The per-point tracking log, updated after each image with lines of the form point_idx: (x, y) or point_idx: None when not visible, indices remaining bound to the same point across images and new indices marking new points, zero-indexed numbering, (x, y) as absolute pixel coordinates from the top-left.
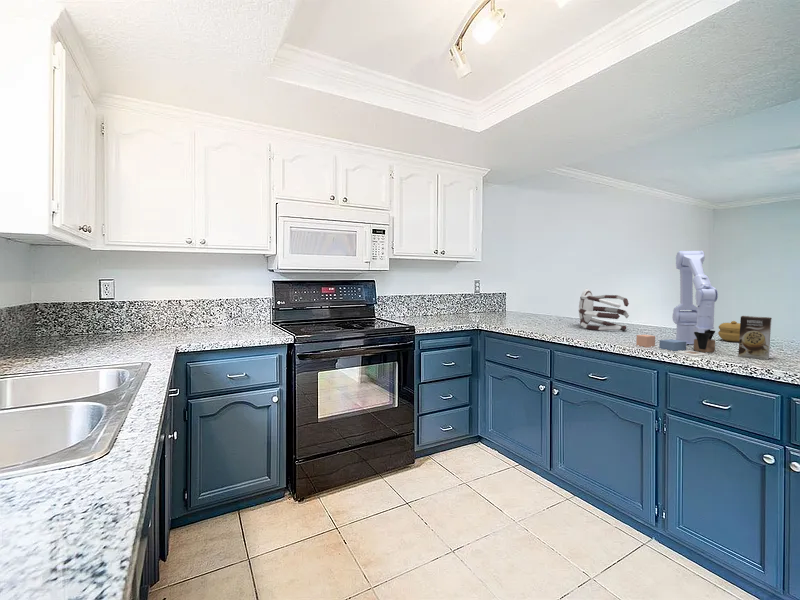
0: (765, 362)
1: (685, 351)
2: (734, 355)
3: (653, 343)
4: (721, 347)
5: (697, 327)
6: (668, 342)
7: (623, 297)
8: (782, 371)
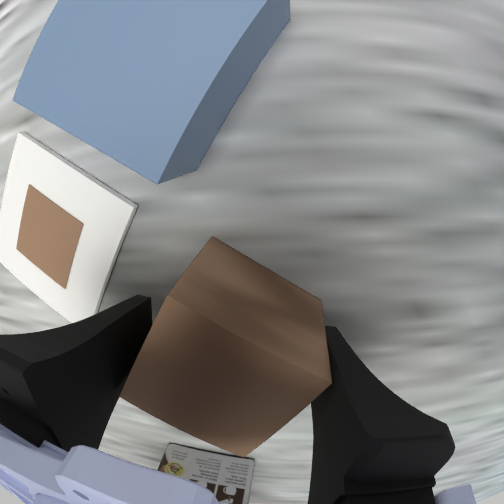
0: None
1: (58, 188)
2: (189, 436)
3: None
4: (490, 385)
5: (3, 456)
6: (49, 30)
7: None
8: None
